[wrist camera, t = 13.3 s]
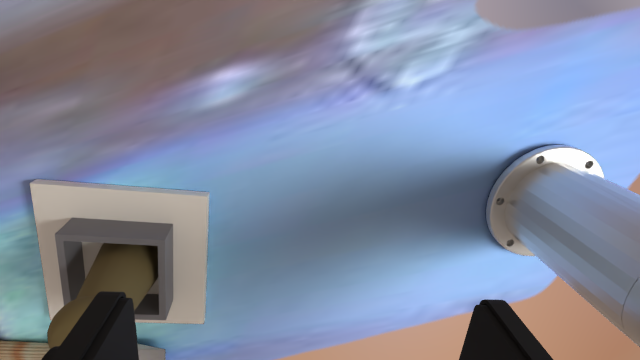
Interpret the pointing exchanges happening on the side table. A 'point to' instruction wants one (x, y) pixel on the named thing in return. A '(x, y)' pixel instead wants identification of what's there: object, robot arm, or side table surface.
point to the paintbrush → (27, 356)
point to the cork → (109, 283)
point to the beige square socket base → (124, 242)
